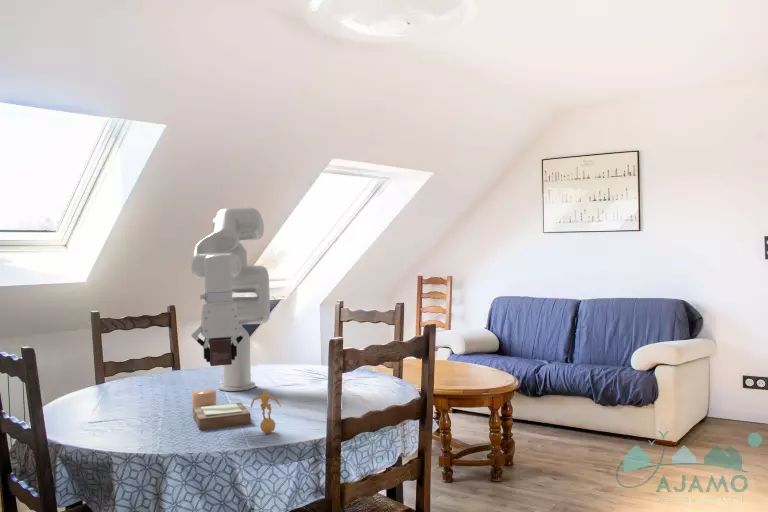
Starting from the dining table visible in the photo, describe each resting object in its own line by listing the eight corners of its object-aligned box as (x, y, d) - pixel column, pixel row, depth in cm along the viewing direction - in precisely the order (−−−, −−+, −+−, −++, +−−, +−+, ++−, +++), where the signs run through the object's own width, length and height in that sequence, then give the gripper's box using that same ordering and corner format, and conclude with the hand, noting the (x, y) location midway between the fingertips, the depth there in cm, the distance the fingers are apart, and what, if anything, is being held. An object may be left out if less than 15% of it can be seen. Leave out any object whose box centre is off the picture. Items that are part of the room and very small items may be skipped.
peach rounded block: (191, 410, 211) (190, 390, 211) (214, 407, 214) (214, 388, 214) (194, 415, 205) (193, 395, 205) (218, 413, 207) (217, 393, 207)
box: (232, 365, 196) (231, 339, 196) (210, 366, 194) (209, 340, 194) (230, 361, 202) (230, 336, 202) (209, 362, 200) (208, 337, 200)
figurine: (284, 430, 187) (284, 386, 187) (279, 437, 181) (278, 391, 181) (254, 430, 188) (253, 386, 187) (248, 437, 182) (247, 391, 181)
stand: (193, 417, 202) (193, 406, 202) (241, 412, 208) (241, 401, 207) (199, 429, 189) (199, 417, 189) (250, 423, 195) (250, 411, 195)
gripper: (189, 300, 191) (190, 365, 191) (251, 297, 197) (253, 359, 198) (186, 298, 198) (187, 360, 198) (246, 295, 204) (248, 355, 205)
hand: (220, 359), depth 198 cm, fingers closed on box, 6 cm apart
